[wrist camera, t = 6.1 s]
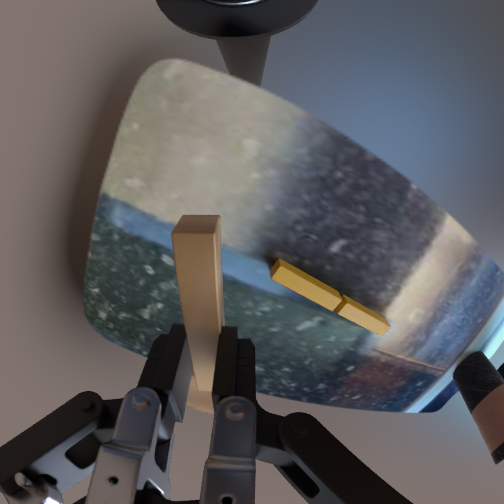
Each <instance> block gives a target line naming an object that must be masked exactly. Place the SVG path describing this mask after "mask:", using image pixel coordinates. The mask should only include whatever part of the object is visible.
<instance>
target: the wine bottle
mask: <svg viewBox="0 0 504 504" xmlns="http://www.w3.org/2000/svg"><path fill="white" fill-rule="evenodd" d="M497 371H498V373H499V374H500V375H501V377H502V378H503V380H504V363H503V364H502V365H501V366H500V367H499V369H498V370H497Z"/></svg>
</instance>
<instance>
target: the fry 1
mask: <svg viewBox="0 0 504 504" xmlns="http://www.w3.org/2000/svg"><path fill="white" fill-rule="evenodd" d="M270 277H271V279H272V280H274V281H276V282H278V283H280V284H281V285H283V286H285V287H287V288H289V289H291V290H293V291H295V292H297V293H298V294H300V295H302V296H304V297H306V298H308V299H310V300H312V301H314V302H316V303H318V304H319V305H321V306H323V307H325V308H327V309H329V310H331V311H333V310H334V309H335V308H336V307H337V305H338V304H339V303H340V302H341V301H342V298H341V296H340V294H339V292H338V291H337V290H335V289H333V288H331V287H330V286H328V285H326V284H324V283H323V282H321V281H319V280H317V279H316V278H314V277H312V276H310V275H308V274H307V273H305V272H303V271H301V270H300V269H298V268H296V267H294V266H293V265H291V264H289V263H287V262H286V261H284V260H282V259H280V258H278V260H277V261H276V262H275V264H274V265H273V267H272V268H271V269H270Z"/></svg>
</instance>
